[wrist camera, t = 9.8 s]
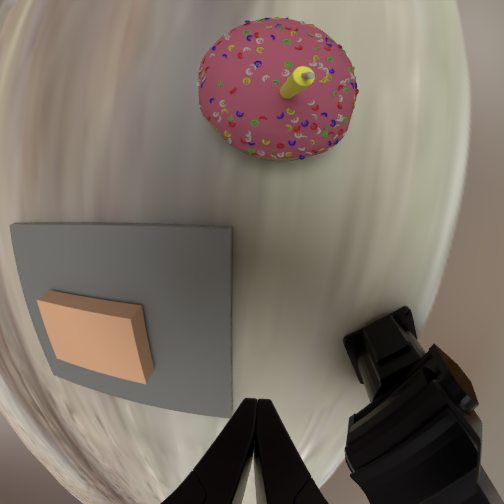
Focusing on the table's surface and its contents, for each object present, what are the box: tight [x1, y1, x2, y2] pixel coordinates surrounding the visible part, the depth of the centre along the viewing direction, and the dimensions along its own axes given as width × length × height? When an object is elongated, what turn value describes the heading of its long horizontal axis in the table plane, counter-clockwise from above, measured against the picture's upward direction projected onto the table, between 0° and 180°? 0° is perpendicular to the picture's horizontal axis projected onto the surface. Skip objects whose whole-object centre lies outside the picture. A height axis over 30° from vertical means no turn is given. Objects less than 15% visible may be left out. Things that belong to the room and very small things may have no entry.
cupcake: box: [196, 17, 359, 161], centre depth 11 cm, size 9×8×12 cm
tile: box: [37, 290, 154, 384], centre depth 21 cm, size 2×7×11 cm
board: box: [10, 223, 232, 418], centre depth 23 cm, size 24×20×1 cm
